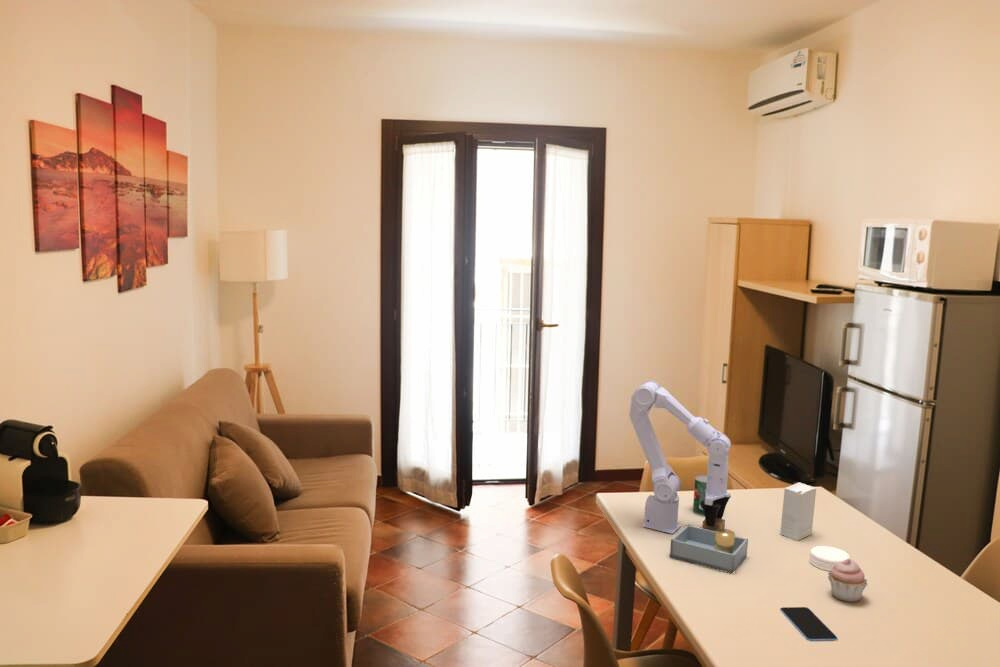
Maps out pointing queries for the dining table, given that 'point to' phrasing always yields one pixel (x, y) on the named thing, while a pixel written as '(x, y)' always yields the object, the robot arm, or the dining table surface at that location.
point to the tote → (706, 549)
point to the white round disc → (827, 557)
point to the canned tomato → (699, 493)
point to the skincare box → (798, 511)
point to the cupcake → (847, 581)
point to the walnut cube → (718, 525)
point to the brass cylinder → (724, 540)
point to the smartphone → (808, 624)
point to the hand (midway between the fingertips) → (714, 521)
